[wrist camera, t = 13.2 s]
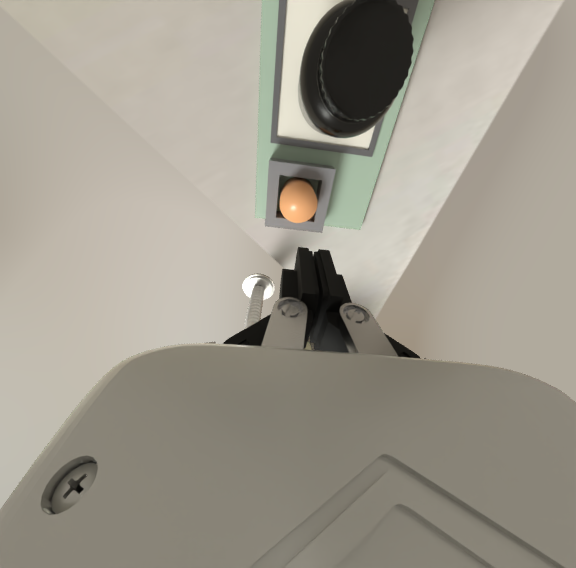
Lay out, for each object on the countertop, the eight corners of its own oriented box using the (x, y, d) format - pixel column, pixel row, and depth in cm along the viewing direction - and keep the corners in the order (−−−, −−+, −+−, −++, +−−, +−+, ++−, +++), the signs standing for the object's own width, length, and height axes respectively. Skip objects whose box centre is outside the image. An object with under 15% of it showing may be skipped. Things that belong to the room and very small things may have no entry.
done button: (282, 174, 25) (281, 181, 22) (316, 179, 25) (321, 186, 22) (279, 209, 28) (277, 220, 24) (310, 213, 28) (313, 225, 25)
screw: (281, 280, 36) (260, 296, 37) (259, 261, 33) (238, 279, 35) (278, 346, 25) (249, 363, 27) (246, 324, 23) (217, 344, 25)
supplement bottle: (352, 18, 18) (424, -102, 9) (378, 107, 22) (450, 92, 12) (282, 76, 21) (278, 31, 11) (316, 149, 24) (335, 165, 14)
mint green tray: (264, -32, 18) (259, -62, 15) (430, 0, 19) (455, -22, 16) (255, 215, 29) (252, 224, 26) (358, 227, 30) (365, 237, 27)
